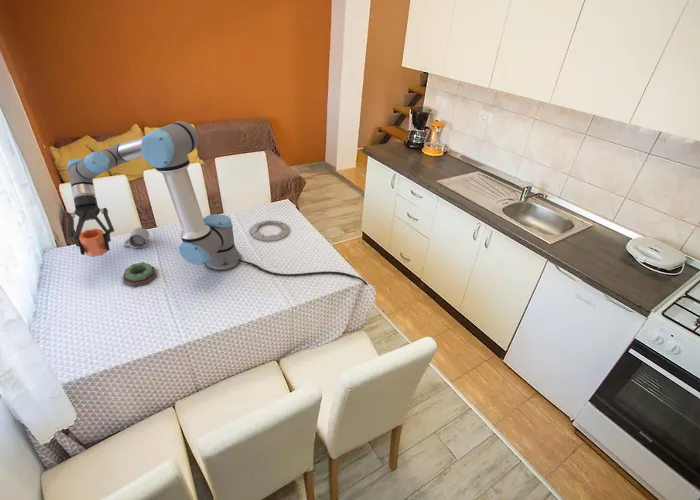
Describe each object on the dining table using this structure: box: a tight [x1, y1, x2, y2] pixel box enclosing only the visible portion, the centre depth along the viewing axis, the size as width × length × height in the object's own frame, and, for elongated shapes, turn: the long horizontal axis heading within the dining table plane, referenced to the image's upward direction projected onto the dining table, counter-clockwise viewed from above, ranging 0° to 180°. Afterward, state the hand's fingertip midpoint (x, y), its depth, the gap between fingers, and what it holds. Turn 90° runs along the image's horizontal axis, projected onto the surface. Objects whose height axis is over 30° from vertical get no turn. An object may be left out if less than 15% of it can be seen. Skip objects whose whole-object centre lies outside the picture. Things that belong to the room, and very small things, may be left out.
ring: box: [250, 220, 290, 242], centre depth 199 cm, size 19×19×2 cm
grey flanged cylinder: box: [124, 227, 150, 249], centre depth 180 cm, size 11×8×8 cm
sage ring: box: [124, 261, 153, 281], centre depth 161 cm, size 10×10×2 cm
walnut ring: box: [123, 266, 157, 288], centre depth 162 cm, size 12×12×2 cm
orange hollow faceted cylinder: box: [79, 228, 109, 258], centre depth 150 cm, size 8×8×8 cm
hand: (95, 251), depth 149 cm, fingers closed on orange hollow faceted cylinder, 8 cm apart
